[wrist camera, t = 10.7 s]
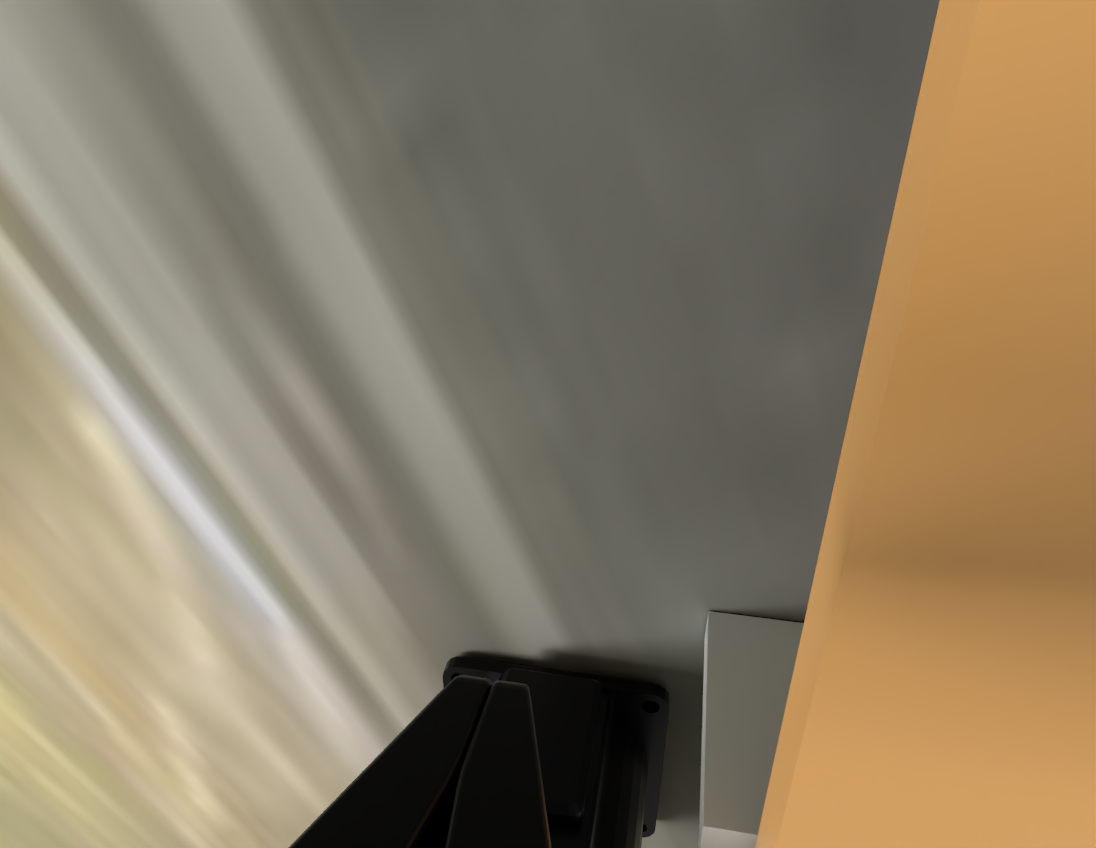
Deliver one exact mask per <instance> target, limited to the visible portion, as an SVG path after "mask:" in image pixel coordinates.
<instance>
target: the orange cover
mask: <svg viewBox="0 0 1096 848" xmlns="http://www.w3.org/2000/svg"><path fill="white" fill-rule="evenodd" d="M755 848H1096V0H940V2H939V6H938V11H937V16H936V20H935V25H934V29H933V34H932V38H931V43H930V48H929V52H928V57H927V61H926V66H925V71H924V75H923V80H922V84H921V89H920V94H919V98H918V103H917V107H916V112H915V116H914V121H913V126H912V130H911V135H910V139H909V144H908V149H907V153H906V158H905V162H904V167H903V171H902V176H901V181H900V185H899V190H898V194H897V199H896V204H895V208H894V213H893V217H892V222H891V226H890V231H889V236H888V240H887V245H886V249H885V254H884V259H883V263H882V268H881V272H880V277H879V281H878V286H877V291H876V295H875V300H874V304H873V309H872V314H871V318H870V323H869V327H868V332H867V336H866V341H865V346H864V350H863V355H862V359H861V364H860V369H859V373H858V378H857V382H856V387H855V391H854V396H853V401H852V405H851V410H850V414H849V419H848V424H847V428H846V433H845V437H844V442H843V446H842V451H841V456H840V460H839V465H838V469H837V474H836V479H835V483H834V488H833V492H832V497H831V501H830V506H829V511H828V515H827V520H826V524H825V529H824V534H823V538H822V543H821V547H820V552H819V556H818V561H817V566H816V570H815V575H814V579H813V584H812V589H811V593H810V598H809V602H808V607H807V611H806V616H805V621H804V625H803V630H802V634H801V639H800V644H799V648H798V653H797V657H796V662H795V666H794V671H793V676H792V680H791V685H790V689H789V694H788V699H787V703H786V708H785V712H784V717H783V721H782V726H781V731H780V735H779V740H778V744H777V749H776V754H775V758H774V763H773V767H772V772H771V776H770V781H769V786H768V790H767V795H766V799H765V804H764V809H763V813H762V818H761V822H760V827H759V832H758V836H757V841H756V845H755Z"/></svg>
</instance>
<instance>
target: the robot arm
mask: <svg viewBox="0 0 1096 848" xmlns="http://www.w3.org/2000/svg"><path fill="white" fill-rule="evenodd" d="M459 673H461V674H459ZM462 674H464V675H462ZM443 684H444V689H443V690H442V691H441V692H440V693H439V694H438V695H437V696H436V697H435V698H434V699H433V700H432V701H431V702H430V703H429V704H428V705H427V706H426V707H425V708H424V709H423V710H422V711H421V712H420V713H419V714H418V715H417V716H416V717H415V718H414V719H413V721H412V722H411V723H410V724H409V725H408V726H407V727H406V728H405V729H404V730H403V731H402V732H401V733H400V734H399V735H398V736H397V737H396V738H395V739H394V740H393V741H392V742H391V743H390V744H389V745H388V746H387V747H386V748H385V749H384V750H383V751H382V752H381V753H380V754H379V755H378V756H377V758H376V759H375V760H374V761H373V762H372V763H371V764H370V765H369V766H368V767H367V768H366V769H365V770H364V771H363V772H362V773H361V774H360V775H359V776H358V777H357V778H356V779H355V780H354V781H353V782H352V783H351V784H350V785H349V786H348V787H347V788H346V789H345V790H344V791H343V792H342V793H341V794H340V795H339V797H338V798H337V799H336V800H335V801H334V802H333V803H332V804H331V805H330V806H329V807H328V808H327V809H326V810H325V811H324V812H323V813H322V814H321V815H320V816H319V817H318V818H317V819H316V820H315V821H314V822H313V823H312V824H311V825H310V826H309V827H308V828H307V829H306V830H305V831H304V832H303V833H302V835H301V836H300V837H299V838H298V839H297V840H296V841H295V842H294V843H293V844H292V845H291V846H290V847H289V848H641V842H642V837H648V836H651V835H652V834H653V833H654V831H655V826H656V817H657V809H658V800H659V791H660V782H661V773H662V765H663V756H664V747H665V738H666V729H667V721H668V712H669V699H670V698H669V693H668V692H667V690H666V689H665V688H663V687H662V686H660V685H657V684H653V683H646V682H639V681H632V680H625V679H618V678H611V677H604V676H597V675H590V674H582V673H575V672H568V671H561V670H554V669H547V668H540V667H533V666H526V665H518V664H511V663H504V662H497V661H490V660H483V659H476V658H469V657H454V658H451V659H450V660H449V661H448V662H447V665H446V668H445V670H444V674H443ZM649 701H654V702H649Z"/></svg>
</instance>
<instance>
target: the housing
mask: <svg viewBox="0 0 1096 848" xmlns="http://www.w3.org/2000/svg"><path fill="white" fill-rule="evenodd" d="M803 625H804V623H798V622H791V621H783V620H775V619H767V618H759V617H751V616H743V615H735V614H727V613H719V612H711V611H708V618H707V625H706V632H705V642H704V678H703V714H702V749H701V785H700V820H699V848H755V845H756V841H757V836H758V832H759V827H760V822H761V818H762V813H763V809H764V804H765V799H766V795H767V790H768V786H769V781H770V776H771V772H772V767H773V763H774V758H775V754H776V749H777V744H778V740H779V735H780V731H781V726H782V721H783V717H784V712H785V708H786V703H787V699H788V694H789V689H790V685H791V680H792V676H793V671H794V666H795V662H796V657H797V653H798V648H799V644H800V639H801V634H802V630H803Z"/></svg>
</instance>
